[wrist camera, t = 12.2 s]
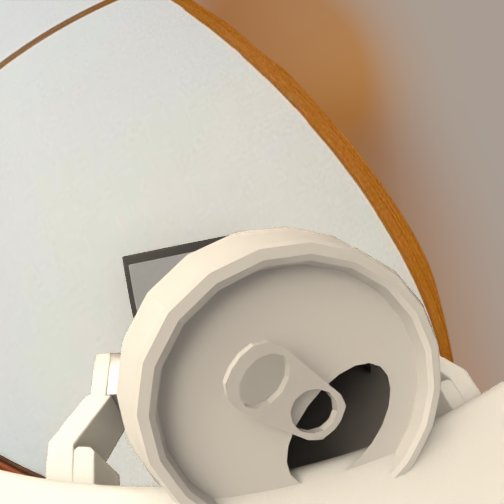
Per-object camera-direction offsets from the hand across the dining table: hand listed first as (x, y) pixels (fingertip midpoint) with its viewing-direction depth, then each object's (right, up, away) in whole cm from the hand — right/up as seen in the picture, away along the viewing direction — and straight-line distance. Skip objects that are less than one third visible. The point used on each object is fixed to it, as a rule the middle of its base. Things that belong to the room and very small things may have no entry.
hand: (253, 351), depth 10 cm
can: (-1, -2, +6) cm, 7 cm away
